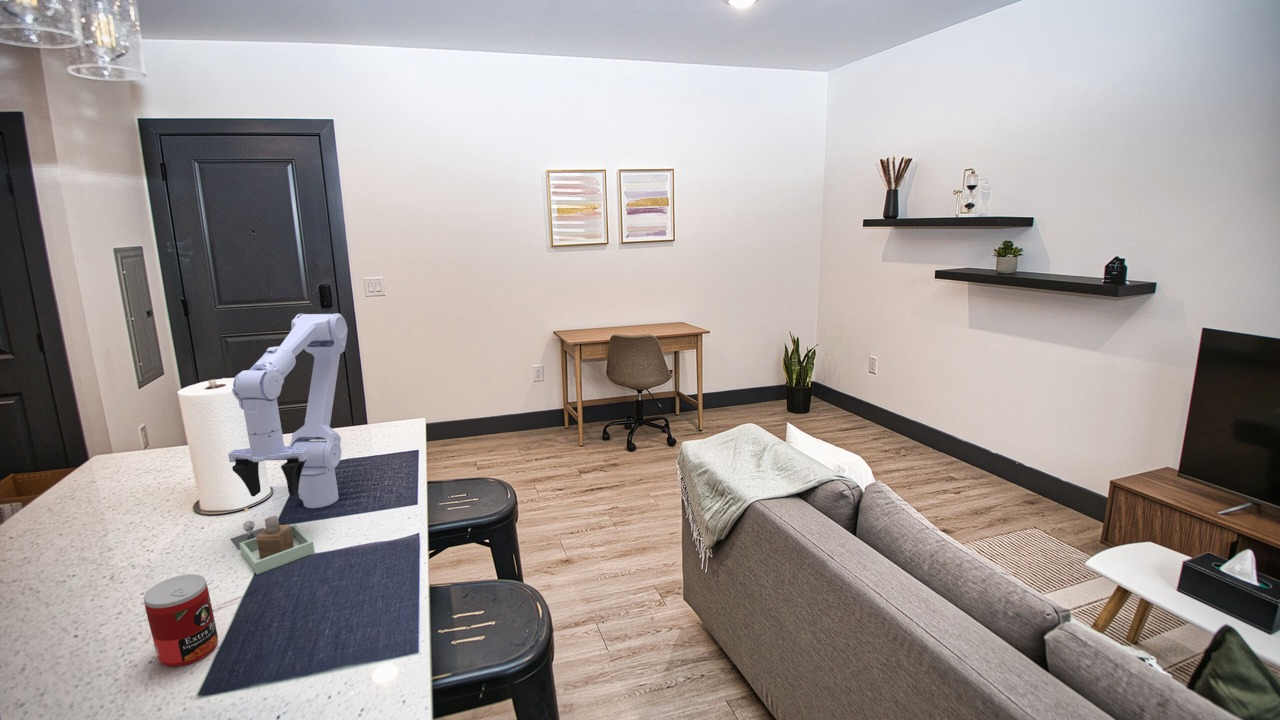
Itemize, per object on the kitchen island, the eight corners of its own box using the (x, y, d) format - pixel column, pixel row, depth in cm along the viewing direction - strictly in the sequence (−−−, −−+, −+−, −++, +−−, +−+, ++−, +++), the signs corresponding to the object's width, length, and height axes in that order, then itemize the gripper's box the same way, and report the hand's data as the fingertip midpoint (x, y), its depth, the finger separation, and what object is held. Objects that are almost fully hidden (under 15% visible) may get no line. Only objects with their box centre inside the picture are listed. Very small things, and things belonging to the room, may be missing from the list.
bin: (242, 559, 122) (239, 543, 121) (297, 539, 129) (295, 523, 128) (257, 580, 115) (254, 563, 114) (315, 557, 122) (312, 541, 121)
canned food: (191, 671, 93) (176, 606, 90) (144, 665, 94) (128, 601, 91) (231, 636, 100) (219, 575, 97) (187, 631, 101) (174, 571, 99)
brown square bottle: (273, 550, 123) (266, 513, 121) (294, 550, 123) (288, 513, 121) (260, 562, 119) (253, 524, 117) (283, 562, 119) (276, 524, 117)
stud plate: (231, 544, 127) (226, 521, 126) (264, 532, 131) (260, 511, 130) (239, 555, 123) (234, 532, 122) (273, 543, 127) (269, 521, 126)
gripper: (213, 437, 118) (226, 503, 122) (291, 436, 119) (301, 502, 122) (236, 425, 125) (247, 487, 129) (309, 423, 125) (318, 486, 129)
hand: (275, 493), depth 126 cm, fingers open, 7 cm apart
